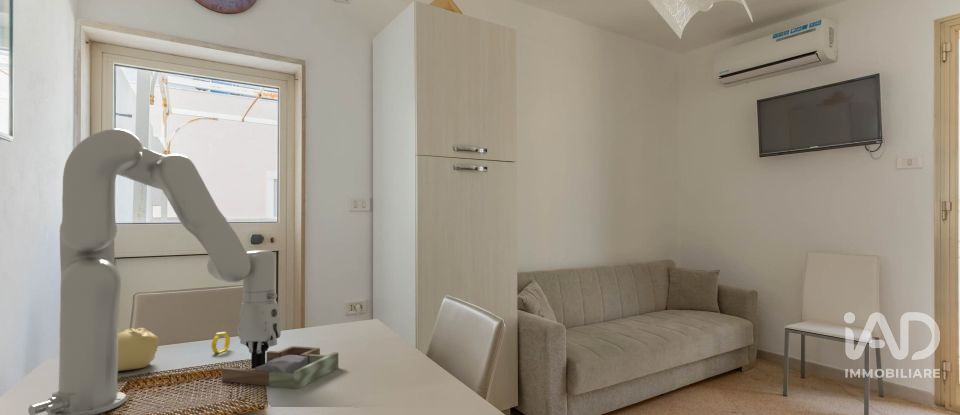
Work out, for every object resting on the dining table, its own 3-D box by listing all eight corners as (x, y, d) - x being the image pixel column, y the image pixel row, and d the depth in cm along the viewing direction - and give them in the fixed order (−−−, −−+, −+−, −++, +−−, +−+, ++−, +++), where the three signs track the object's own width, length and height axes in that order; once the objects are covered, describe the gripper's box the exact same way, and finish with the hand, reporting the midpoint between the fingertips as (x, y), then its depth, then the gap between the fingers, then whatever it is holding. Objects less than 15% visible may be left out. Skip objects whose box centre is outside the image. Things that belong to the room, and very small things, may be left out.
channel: (298, 388, 107) (298, 371, 107) (221, 380, 113) (222, 364, 113) (350, 361, 128) (350, 346, 128) (284, 355, 134) (284, 342, 134)
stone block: (250, 387, 113) (287, 381, 112) (247, 368, 114) (284, 361, 112) (278, 374, 125) (312, 368, 123) (276, 356, 125) (309, 350, 124)
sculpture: (165, 366, 126) (165, 326, 126) (111, 378, 116) (112, 335, 116) (147, 359, 132) (148, 322, 133) (95, 370, 122) (96, 330, 123)
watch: (223, 350, 142) (224, 330, 143) (231, 350, 142) (232, 331, 142) (208, 354, 136) (210, 334, 137) (217, 354, 136) (218, 334, 136)
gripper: (292, 296, 122) (292, 365, 121) (246, 294, 126) (245, 361, 125) (272, 300, 115) (272, 374, 114) (224, 298, 119) (223, 369, 118)
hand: (258, 367), depth 120 cm, fingers closed
